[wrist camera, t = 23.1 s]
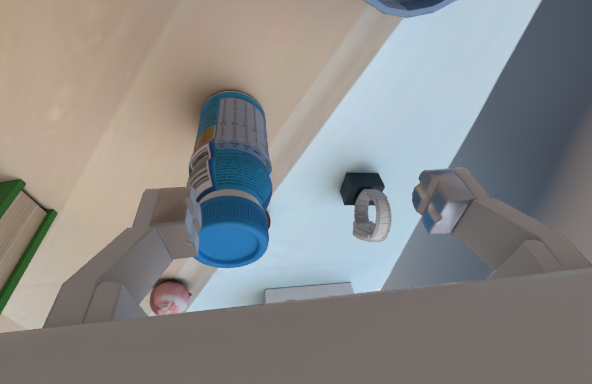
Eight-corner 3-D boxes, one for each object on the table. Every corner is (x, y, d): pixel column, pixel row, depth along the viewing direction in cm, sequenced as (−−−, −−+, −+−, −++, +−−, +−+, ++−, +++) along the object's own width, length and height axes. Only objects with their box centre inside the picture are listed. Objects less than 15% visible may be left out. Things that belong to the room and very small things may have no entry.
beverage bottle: (262, 84, 36) (274, 209, 22) (269, 141, 42) (282, 268, 28) (190, 91, 35) (157, 223, 22) (208, 148, 41) (191, 280, 28)
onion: (189, 275, 64) (184, 308, 59) (194, 292, 69) (190, 323, 64) (149, 277, 63) (141, 311, 58) (157, 294, 68) (151, 327, 63)
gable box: (263, 311, 82) (270, 444, 62) (263, 289, 72) (271, 436, 53) (342, 304, 85) (372, 428, 66) (352, 281, 76) (389, 418, 56)
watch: (337, 199, 52) (353, 252, 45) (349, 164, 47) (370, 218, 39) (367, 199, 54) (387, 251, 46) (382, 165, 48) (409, 218, 40)
